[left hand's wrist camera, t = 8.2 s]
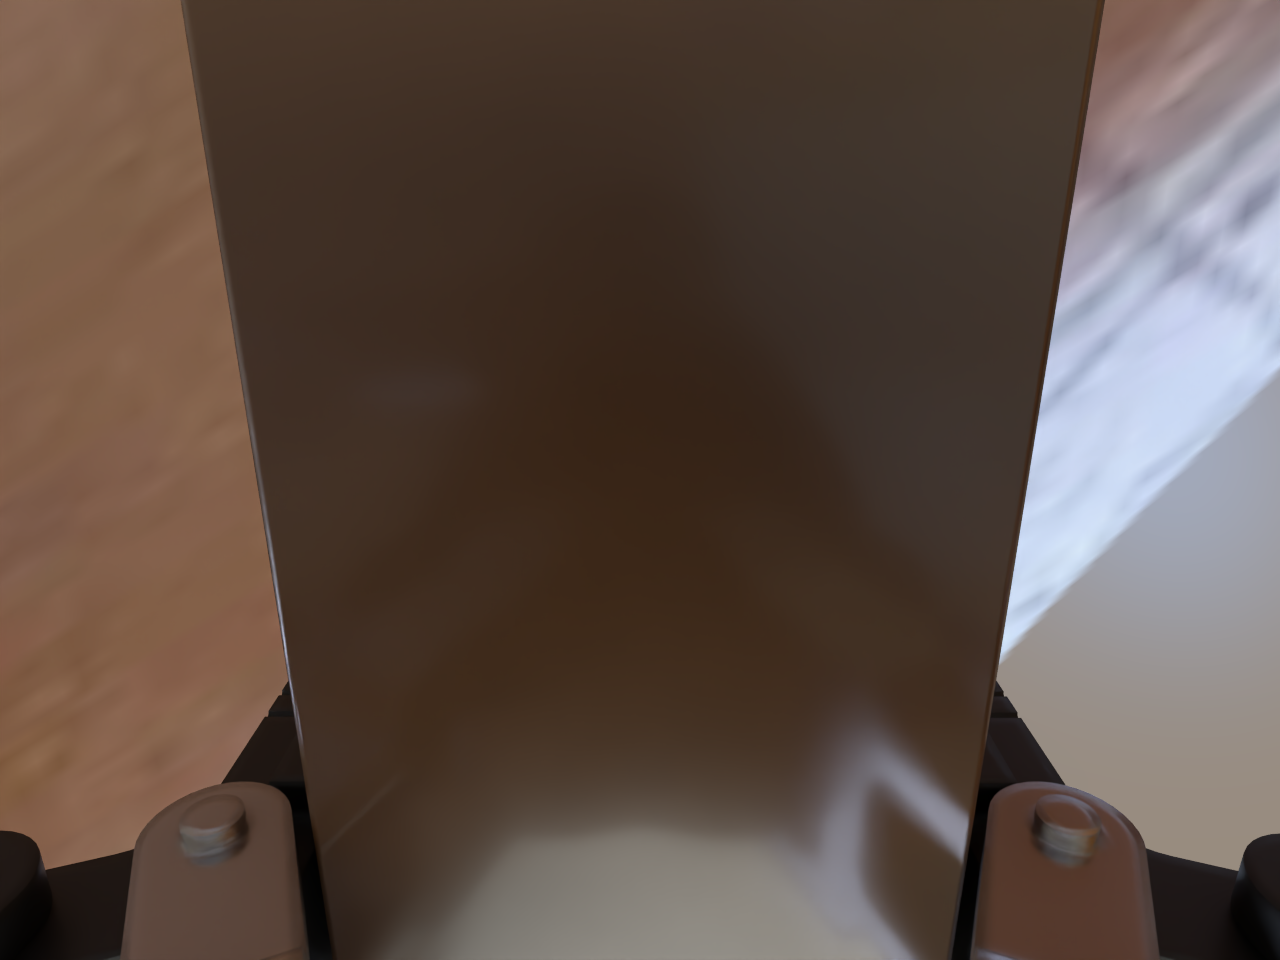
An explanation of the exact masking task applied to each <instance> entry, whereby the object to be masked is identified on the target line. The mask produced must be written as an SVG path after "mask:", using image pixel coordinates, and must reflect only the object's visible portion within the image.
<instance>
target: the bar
mask: <svg viewBox="0 0 1280 960" xmlns="http://www.w3.org/2000/svg"><path fill="white" fill-rule="evenodd" d="M1104 2H1105V0H181V5H182V11H183V18H184V24H185V30H186V36H187V43H188V49H189V55H190V62H191V68H192V74H193V81H194V87H195V93H196V100H197V106H198V112H199V119H200V125H201V131H202V137H203V144H204V150H205V156H206V163H207V169H208V175H209V182H210V188H211V194H212V201H213V207H214V213H215V220H216V226H217V232H218V238H219V245H220V251H221V257H222V264H223V270H224V276H225V283H226V289H227V295H228V302H229V308H230V314H231V320H232V327H233V333H234V339H235V346H236V352H237V358H238V365H239V371H240V377H241V384H242V390H243V396H244V403H245V409H246V415H247V421H248V428H249V434H250V440H251V447H252V453H253V459H254V466H255V472H256V478H257V485H258V491H259V497H260V503H261V510H262V516H263V522H264V529H265V535H266V541H267V548H268V554H269V560H270V567H271V573H272V579H273V586H274V592H275V598H276V604H277V611H278V617H279V623H280V630H281V636H282V642H283V649H284V655H285V661H286V668H287V674H288V680H289V687H290V693H291V699H292V705H293V712H294V718H295V724H296V731H297V737H298V743H299V750H300V756H301V762H302V769H303V775H304V781H305V787H306V794H307V800H308V806H309V813H310V819H311V825H312V832H313V838H314V844H315V851H316V857H317V863H318V870H319V876H320V882H321V888H322V895H323V901H324V907H325V914H326V920H327V926H328V933H329V939H330V945H331V952H332V958H333V960H951V958H952V952H953V946H954V940H955V933H956V927H957V921H958V915H959V908H960V902H961V896H962V890H963V883H964V877H965V871H966V865H967V858H968V852H969V846H970V840H971V833H972V827H973V821H974V815H975V808H976V802H977V796H978V790H979V783H980V777H981V771H982V765H983V758H984V752H985V746H986V740H987V733H988V727H989V721H990V715H991V708H992V702H993V696H994V690H995V684H996V677H997V671H998V665H999V658H1000V652H1001V646H1002V640H1003V634H1004V627H1005V621H1006V615H1007V609H1008V602H1009V596H1010V590H1011V584H1012V577H1013V571H1014V565H1015V559H1016V552H1017V546H1018V540H1019V534H1020V527H1021V521H1022V515H1023V509H1024V502H1025V496H1026V490H1027V484H1028V477H1029V471H1030V465H1031V459H1032V452H1033V446H1034V440H1035V434H1036V427H1037V421H1038V415H1039V409H1040V402H1041V396H1042V390H1043V384H1044V377H1045V371H1046V365H1047V359H1048V352H1049V346H1050V340H1051V334H1052V327H1053V321H1054V315H1055V309H1056V302H1057V296H1058V290H1059V284H1060V277H1061V271H1062V265H1063V259H1064V252H1065V246H1066V240H1067V234H1068V227H1069V221H1070V215H1071V209H1072V202H1073V196H1074V190H1075V184H1076V177H1077V171H1078V165H1079V159H1080V152H1081V146H1082V140H1083V134H1084V127H1085V121H1086V115H1087V109H1088V102H1089V96H1090V90H1091V84H1092V77H1093V71H1094V65H1095V59H1096V52H1097V46H1098V40H1099V34H1100V27H1101V21H1102V15H1103V9H1104Z"/></svg>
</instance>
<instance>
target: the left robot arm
mask: <svg viewBox="0 0 1280 960" xmlns="http://www.w3.org/2000/svg"><path fill="white" fill-rule="evenodd" d="M0 960H333V958H332V952H331V945H330V939H329V933H328V926H327V920H326V914H325V907H324V901H323V895H322V888H321V882H320V876H319V870H318V863H317V857H316V851H315V844H314V838H313V832H312V825H311V819H310V813H309V806H308V800H307V794H306V787H305V781H304V775H303V769H302V762H301V756H300V750H299V743H298V737H297V731H296V724H295V718H294V712H293V705H292V699H291V693H290V687H289V681H288V682H287V684H286V685H285V687H284V688H283V690H282V695H279V696H278V698H277V699H276V701H275V702H274V704H273V705H272V707H271V708H270V710H269V715H268V717H264V719H263V721H262V722H261V724H260V725H259V727H258V728H257V730H256V731H255V733H254V734H253V736H252V737H251V739H250V740H249V742H248V743H247V745H246V747H245V748H244V750H243V751H242V753H241V754H240V756H239V757H238V759H237V760H236V762H235V763H234V765H233V766H232V768H231V769H230V771H229V773H228V774H227V776H226V777H225V779H224V780H223V782H222V783H221V784H219V785H214V786H211V787H207V788H204V789H201V790H199V791H196V792H193V793H191V794H189V795H187V796H185V797H183V798H181V799H179V800H177V801H175V802H174V803H172V804H170V805H169V806H167V807H166V808H165V809H163V810H162V811H161V812H159V813H158V814H157V815H156V816H155V817H154V818H153V819H152V820H151V821H150V822H149V823H148V824H147V825H146V826H145V828H144V829H143V830H142V831H141V833H140V835H139V837H138V839H137V841H136V844H135V848H134V849H133V850H130V851H126V852H122V853H119V854H115V855H110V856H106V857H101V858H97V859H93V860H88V861H84V862H79V863H75V864H70V865H66V866H61V867H57V868H52V869H48V870H45V868H44V864H43V861H42V857H41V854H40V850H39V848H38V846H37V844H36V843H35V842H34V841H33V840H32V839H31V838H30V837H28V836H26V835H24V834H21V833H17V832H12V831H0ZM951 960H1280V834H1270V835H1266V836H1262V837H1259V838H1257V839H1255V840H1253V841H1252V842H1251V843H1250V844H1249V845H1248V846H1247V848H1246V850H1245V852H1244V854H1243V858H1242V861H1241V865H1240V868H1239V871H1235V870H1230V869H1226V868H1222V867H1217V866H1213V865H1208V864H1204V863H1200V862H1195V861H1191V860H1186V859H1182V858H1177V857H1173V856H1169V855H1165V854H1162V853H1158V852H1155V851H1152V850H1149V849H1146V848H1145V844H1144V841H1143V839H1142V837H1141V835H1140V833H1139V831H1138V830H1137V829H1136V828H1135V826H1134V825H1133V824H1132V823H1131V822H1130V821H1129V820H1128V819H1127V818H1126V817H1125V816H1124V815H1123V814H1122V813H1121V812H1119V811H1118V810H1117V809H1115V808H1114V807H1113V806H1111V805H1110V804H1108V803H1106V802H1105V801H1103V800H1101V799H1099V798H1097V797H1095V796H1093V795H1091V794H1089V793H1087V792H1084V791H1081V790H1079V789H1076V788H1072V787H1069V786H1066V785H1065V784H1064V782H1063V781H1062V779H1061V778H1060V776H1059V775H1058V773H1057V772H1056V770H1055V769H1054V767H1053V766H1052V764H1051V763H1050V761H1049V759H1048V758H1047V756H1046V755H1045V753H1044V752H1043V750H1042V749H1041V747H1040V746H1039V744H1038V743H1037V741H1036V740H1035V738H1034V737H1033V735H1032V734H1031V732H1030V731H1029V729H1028V728H1027V726H1026V725H1025V723H1024V722H1023V720H1022V719H1021V718H1018V716H1017V711H1016V710H1015V708H1014V707H1013V705H1012V704H1011V702H1010V701H1009V699H1008V698H1007V697H1004V694H1003V690H1002V689H1001V687H1000V686H999V684H998V682H997V681H996V684H995V690H994V696H993V702H992V708H991V715H990V721H989V727H988V733H987V740H986V746H985V752H984V758H983V765H982V771H981V777H980V783H979V790H978V796H977V802H976V808H975V815H974V821H973V827H972V833H971V840H970V846H969V852H968V858H967V865H966V871H965V877H964V883H963V890H962V896H961V902H960V908H959V915H958V921H957V927H956V933H955V940H954V946H953V952H952V958H951Z"/></svg>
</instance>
